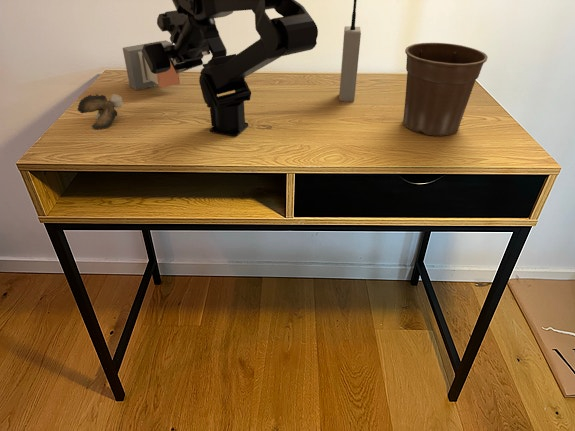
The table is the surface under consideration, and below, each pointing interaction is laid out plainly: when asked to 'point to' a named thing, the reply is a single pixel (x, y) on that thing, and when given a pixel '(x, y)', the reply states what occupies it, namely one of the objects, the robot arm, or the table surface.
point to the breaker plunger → (162, 76)
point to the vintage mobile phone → (350, 60)
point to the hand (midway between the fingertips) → (176, 71)
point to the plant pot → (439, 85)
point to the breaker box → (138, 66)
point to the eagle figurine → (101, 109)
